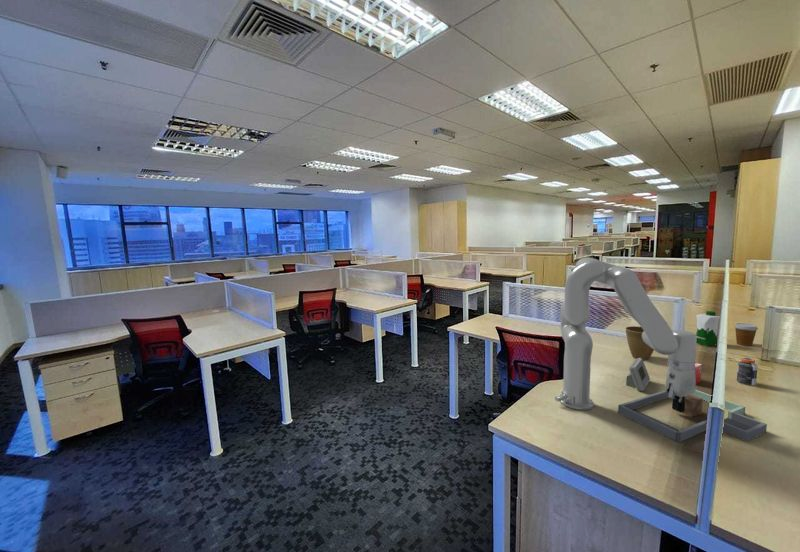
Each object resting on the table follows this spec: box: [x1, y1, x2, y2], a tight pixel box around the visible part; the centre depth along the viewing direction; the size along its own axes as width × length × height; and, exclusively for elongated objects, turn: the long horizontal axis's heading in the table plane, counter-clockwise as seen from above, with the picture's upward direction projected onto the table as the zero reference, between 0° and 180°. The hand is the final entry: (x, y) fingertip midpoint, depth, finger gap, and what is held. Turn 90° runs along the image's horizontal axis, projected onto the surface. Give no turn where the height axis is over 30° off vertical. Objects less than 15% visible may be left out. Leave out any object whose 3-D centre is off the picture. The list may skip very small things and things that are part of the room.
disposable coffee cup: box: [734, 322, 759, 347], centre depth 189 cm, size 10×10×12 cm
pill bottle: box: [736, 357, 758, 386], centre depth 142 cm, size 6×6×11 cm
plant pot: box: [625, 325, 655, 361], centre depth 175 cm, size 15×15×16 cm
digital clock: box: [625, 358, 651, 392], centre depth 144 cm, size 16×9×11 cm, turn 122°
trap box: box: [617, 389, 768, 443], centre depth 117 cm, size 40×28×3 cm
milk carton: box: [695, 310, 721, 347], centre depth 191 cm, size 9×9×20 cm
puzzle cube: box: [695, 362, 703, 384], centre depth 147 cm, size 8×8×8 cm
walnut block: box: [680, 394, 704, 418], centre depth 122 cm, size 6×6×6 cm
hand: (678, 410), depth 120 cm, fingers closed
